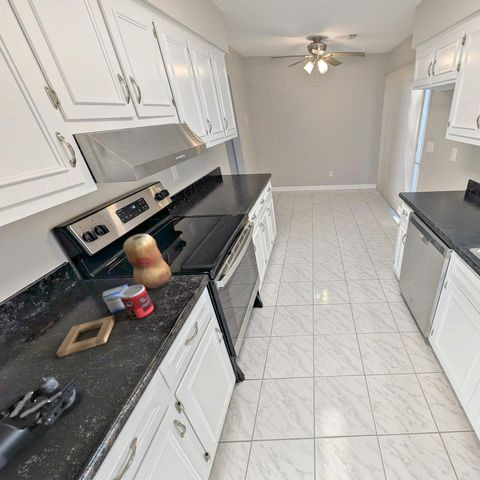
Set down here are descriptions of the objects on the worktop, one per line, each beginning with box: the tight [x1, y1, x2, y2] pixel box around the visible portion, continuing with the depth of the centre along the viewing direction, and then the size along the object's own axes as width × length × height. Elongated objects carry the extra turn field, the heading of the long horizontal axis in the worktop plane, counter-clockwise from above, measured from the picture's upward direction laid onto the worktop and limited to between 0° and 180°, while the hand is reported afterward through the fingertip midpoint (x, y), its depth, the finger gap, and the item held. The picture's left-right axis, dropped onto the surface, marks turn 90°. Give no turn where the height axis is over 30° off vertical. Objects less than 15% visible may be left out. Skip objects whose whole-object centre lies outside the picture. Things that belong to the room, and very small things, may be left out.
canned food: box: [119, 284, 154, 320], centre depth 96 cm, size 8×8×11 cm
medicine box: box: [102, 283, 129, 314], centre depth 101 cm, size 8×4×9 cm, turn 126°
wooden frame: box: [55, 314, 117, 358], centre depth 88 cm, size 13×13×2 cm
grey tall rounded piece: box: [37, 376, 76, 411], centre depth 64 cm, size 6×6×12 cm
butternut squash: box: [122, 233, 172, 290], centre depth 109 cm, size 14×13×25 cm
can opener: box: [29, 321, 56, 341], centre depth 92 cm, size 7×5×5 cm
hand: (63, 380), depth 66 cm, fingers open, 6 cm apart
